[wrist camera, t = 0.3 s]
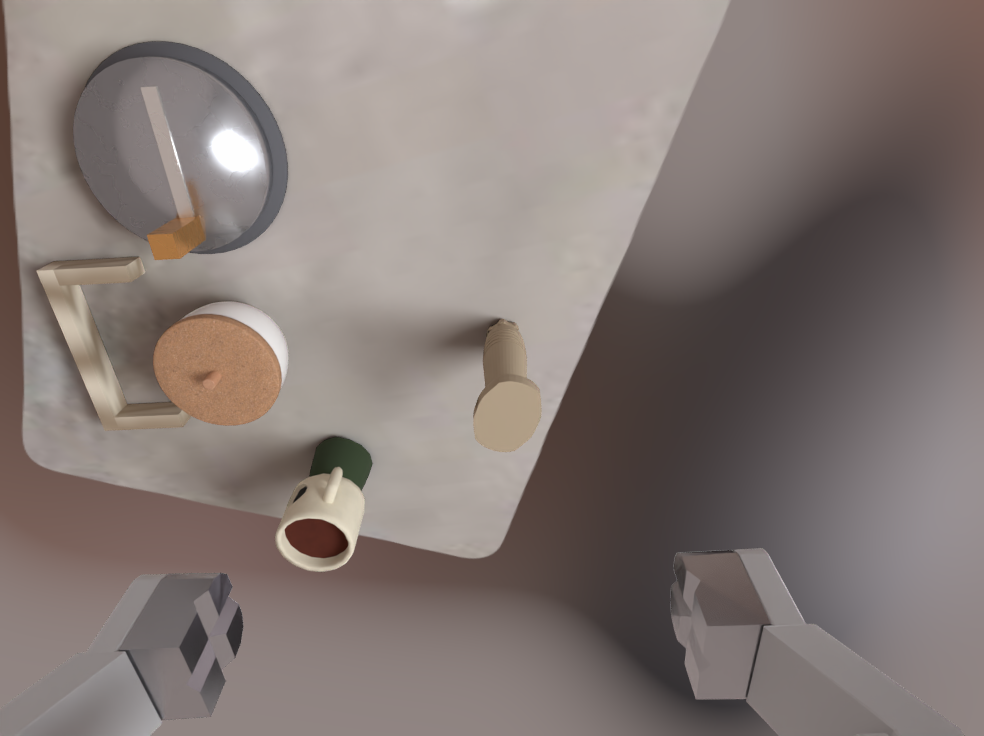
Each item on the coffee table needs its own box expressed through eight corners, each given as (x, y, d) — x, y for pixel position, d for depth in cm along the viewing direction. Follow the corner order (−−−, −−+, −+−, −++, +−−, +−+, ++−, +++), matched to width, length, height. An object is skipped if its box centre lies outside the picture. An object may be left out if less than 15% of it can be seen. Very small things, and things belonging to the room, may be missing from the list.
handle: (469, 353, 61) (463, 441, 48) (491, 296, 58) (491, 373, 45) (515, 367, 62) (521, 458, 49) (539, 311, 59) (552, 392, 46)
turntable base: (46, 48, 48) (44, 48, 48) (261, 34, 48) (260, 34, 48) (121, 257, 56) (119, 258, 56) (305, 247, 56) (304, 248, 56)
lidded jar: (166, 321, 59) (114, 367, 51) (249, 263, 57) (208, 303, 48) (244, 401, 64) (208, 455, 56) (325, 351, 61) (299, 401, 53)
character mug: (322, 408, 64) (286, 489, 53) (389, 427, 65) (367, 511, 54) (302, 485, 69) (264, 575, 58) (364, 502, 70) (339, 593, 59)
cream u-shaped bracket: (53, 261, 57) (36, 270, 54) (140, 256, 56) (125, 265, 54) (117, 417, 65) (104, 430, 62) (193, 413, 64) (182, 427, 62)
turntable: (58, 62, 48) (-5, 66, 42) (249, 50, 48) (213, 53, 42) (124, 248, 55) (78, 276, 49) (290, 239, 55) (265, 266, 49)
